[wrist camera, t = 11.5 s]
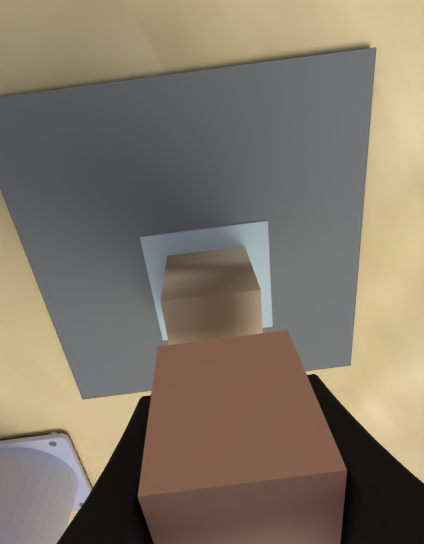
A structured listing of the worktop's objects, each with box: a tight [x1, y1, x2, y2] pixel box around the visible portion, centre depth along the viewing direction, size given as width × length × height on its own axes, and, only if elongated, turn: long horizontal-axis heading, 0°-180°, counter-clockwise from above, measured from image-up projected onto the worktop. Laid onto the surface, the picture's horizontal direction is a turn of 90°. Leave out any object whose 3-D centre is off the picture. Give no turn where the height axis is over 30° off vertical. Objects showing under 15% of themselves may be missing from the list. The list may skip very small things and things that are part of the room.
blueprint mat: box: [0, 47, 376, 399], centre depth 18 cm, size 17×17×1 cm
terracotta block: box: [138, 330, 347, 544], centre depth 10 cm, size 4×4×4 cm
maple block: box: [160, 247, 263, 345], centre depth 17 cm, size 4×4×4 cm
